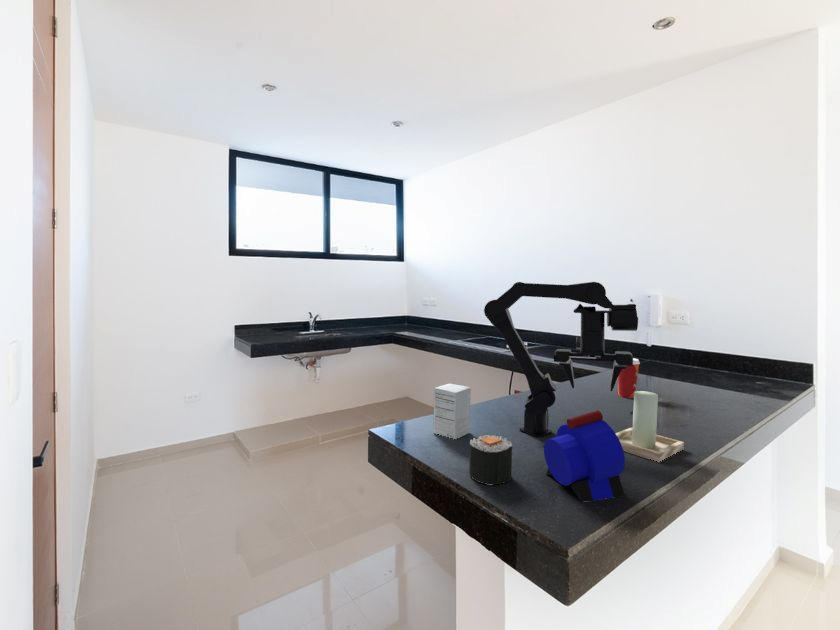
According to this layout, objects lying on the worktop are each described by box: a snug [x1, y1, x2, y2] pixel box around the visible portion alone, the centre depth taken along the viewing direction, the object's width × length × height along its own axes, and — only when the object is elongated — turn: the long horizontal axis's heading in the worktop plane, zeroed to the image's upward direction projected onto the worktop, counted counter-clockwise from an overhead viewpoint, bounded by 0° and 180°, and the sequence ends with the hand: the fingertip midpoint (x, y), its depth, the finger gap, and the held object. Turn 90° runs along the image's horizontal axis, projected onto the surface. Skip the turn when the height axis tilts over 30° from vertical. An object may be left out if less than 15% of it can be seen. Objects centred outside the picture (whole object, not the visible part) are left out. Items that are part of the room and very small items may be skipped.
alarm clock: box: [543, 410, 626, 502], centre depth 83 cm, size 12×12×15 cm
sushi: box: [468, 434, 513, 485], centre depth 86 cm, size 8×8×8 cm
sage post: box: [632, 390, 659, 449], centre depth 103 cm, size 5×5×13 cm
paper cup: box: [617, 357, 641, 399], centre depth 154 cm, size 8×8×14 cm
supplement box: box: [433, 383, 472, 440], centre depth 111 cm, size 7×7×13 cm
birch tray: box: [615, 426, 685, 463], centre depth 104 cm, size 13×13×2 cm
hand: (591, 389), depth 109 cm, fingers open, 9 cm apart
